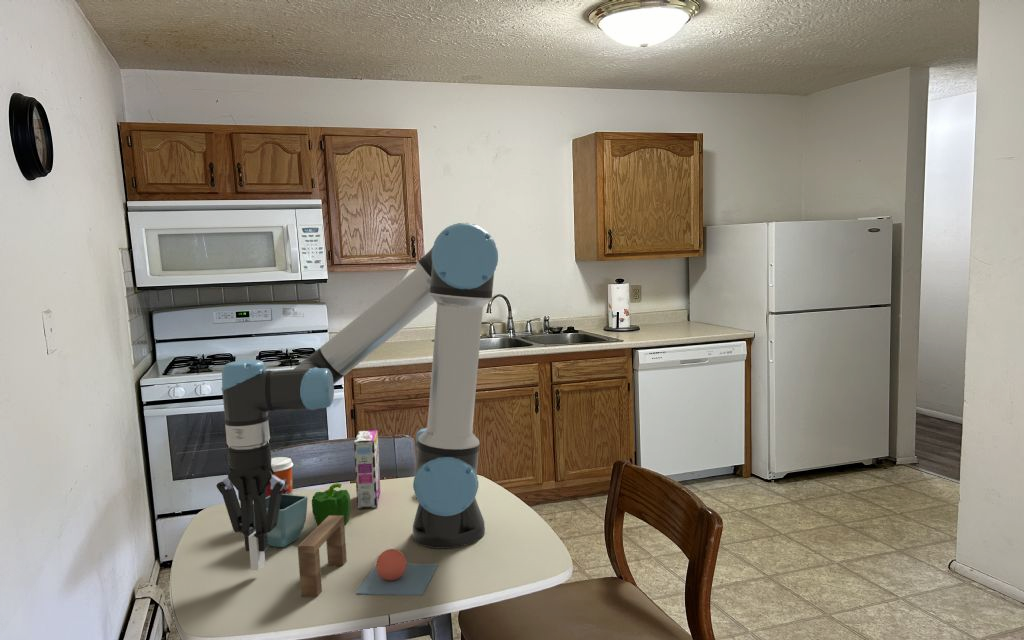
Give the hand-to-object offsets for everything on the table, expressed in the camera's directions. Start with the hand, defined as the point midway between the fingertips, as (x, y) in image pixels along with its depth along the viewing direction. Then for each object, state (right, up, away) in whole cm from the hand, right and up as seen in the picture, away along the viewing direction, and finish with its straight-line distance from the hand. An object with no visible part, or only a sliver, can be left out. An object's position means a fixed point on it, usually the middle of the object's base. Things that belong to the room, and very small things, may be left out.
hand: (258, 567), depth 133 cm
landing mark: (+27, -1, -3) cm, 27 cm away
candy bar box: (+13, +2, +40) cm, 42 cm away
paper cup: (-5, 0, +29) cm, 29 cm away
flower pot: (-1, -1, +16) cm, 16 cm away
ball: (+26, +2, -3) cm, 26 cm away
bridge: (+13, -2, -2) cm, 13 cm away
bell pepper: (+8, 0, +23) cm, 25 cm away
